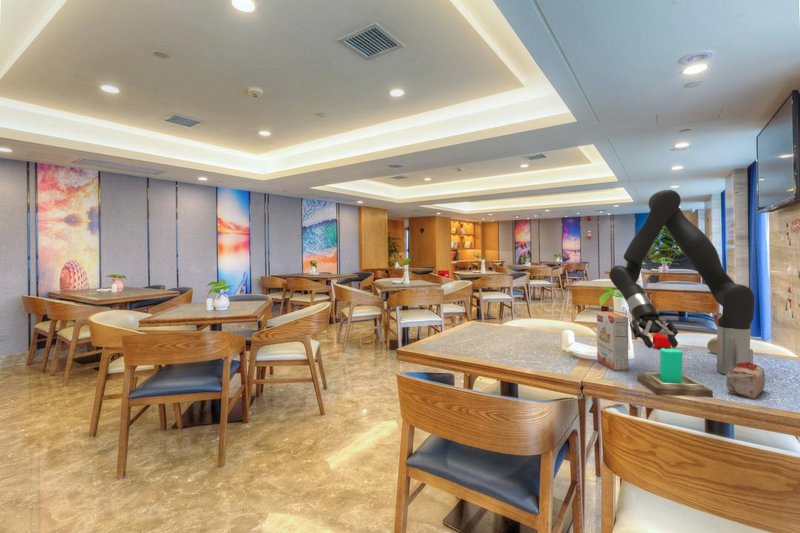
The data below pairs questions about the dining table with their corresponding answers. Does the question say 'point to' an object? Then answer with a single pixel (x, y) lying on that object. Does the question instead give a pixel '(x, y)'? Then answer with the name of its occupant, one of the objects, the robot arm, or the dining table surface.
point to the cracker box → (612, 340)
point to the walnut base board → (674, 386)
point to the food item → (746, 380)
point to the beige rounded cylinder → (712, 345)
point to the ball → (661, 341)
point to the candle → (670, 366)
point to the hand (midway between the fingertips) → (663, 346)
